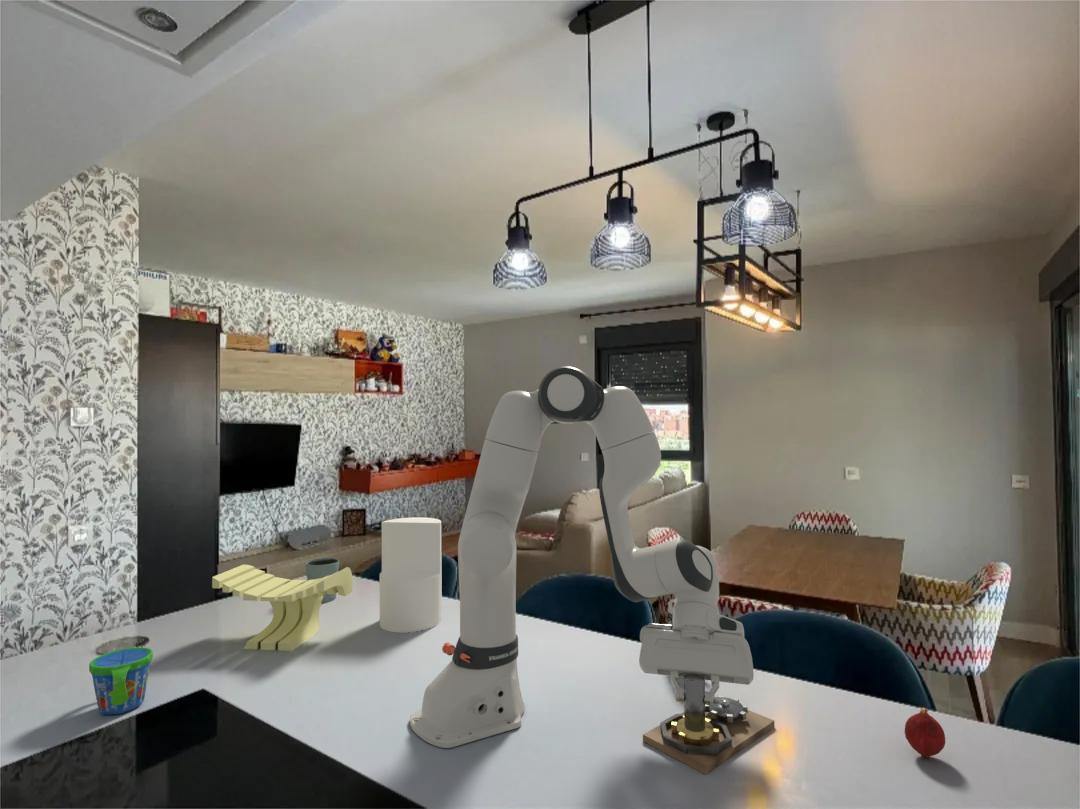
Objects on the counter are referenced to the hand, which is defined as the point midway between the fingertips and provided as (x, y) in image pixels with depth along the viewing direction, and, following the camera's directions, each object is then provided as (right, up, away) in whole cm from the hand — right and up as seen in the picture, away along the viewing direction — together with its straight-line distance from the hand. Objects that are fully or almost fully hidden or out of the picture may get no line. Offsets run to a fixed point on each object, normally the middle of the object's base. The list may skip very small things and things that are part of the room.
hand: (694, 702), depth 105 cm
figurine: (+6, -8, +32) cm, 33 cm away
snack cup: (-112, -9, +15) cm, 113 cm away
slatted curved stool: (-95, -9, +52) cm, 109 cm away
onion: (+38, -7, -4) cm, 39 cm away
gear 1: (0, -6, +1) cm, 6 cm away
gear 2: (+7, -6, +7) cm, 12 cm away
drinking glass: (-97, -10, +86) cm, 130 cm away
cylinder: (-64, -9, +64) cm, 91 cm away
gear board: (+4, -7, +3) cm, 9 cm away
